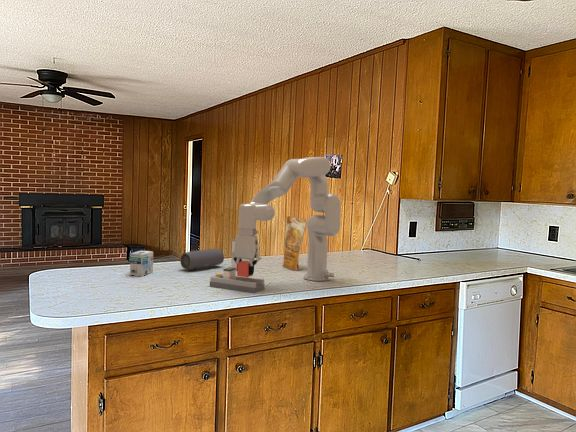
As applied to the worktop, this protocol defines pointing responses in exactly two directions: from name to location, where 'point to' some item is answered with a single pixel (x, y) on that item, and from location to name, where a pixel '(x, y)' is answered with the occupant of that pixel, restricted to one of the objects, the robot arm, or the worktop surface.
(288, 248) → the pancake mix bag
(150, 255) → the light bulb box
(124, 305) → the worktop surface
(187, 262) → the bluetooth speaker
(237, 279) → the gray rectangular tray
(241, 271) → the block
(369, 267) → the worktop surface
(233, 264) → the milk carton
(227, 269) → the breaker lever
